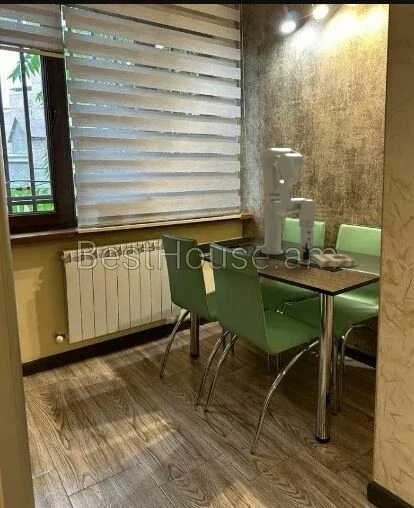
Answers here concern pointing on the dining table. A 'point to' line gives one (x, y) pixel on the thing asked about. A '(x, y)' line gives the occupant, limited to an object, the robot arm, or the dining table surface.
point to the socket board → (334, 260)
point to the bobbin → (302, 256)
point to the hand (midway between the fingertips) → (305, 258)
